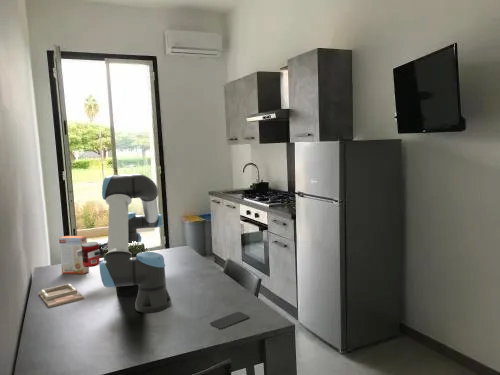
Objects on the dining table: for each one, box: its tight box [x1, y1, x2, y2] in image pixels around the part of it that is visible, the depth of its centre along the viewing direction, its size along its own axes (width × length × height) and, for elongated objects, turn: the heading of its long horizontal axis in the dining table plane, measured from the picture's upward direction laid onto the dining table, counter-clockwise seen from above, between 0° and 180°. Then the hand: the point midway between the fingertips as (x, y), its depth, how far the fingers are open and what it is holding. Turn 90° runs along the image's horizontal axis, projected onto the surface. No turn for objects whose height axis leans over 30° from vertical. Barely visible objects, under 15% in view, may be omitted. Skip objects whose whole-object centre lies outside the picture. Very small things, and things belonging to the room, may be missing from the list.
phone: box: [209, 311, 250, 330], centre depth 155 cm, size 7×1×15 cm
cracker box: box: [58, 235, 90, 275], centre depth 225 cm, size 14×6×21 cm, turn 77°
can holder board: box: [38, 283, 85, 309], centre depth 188 cm, size 22×15×2 cm
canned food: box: [82, 241, 100, 268], centre depth 199 cm, size 8×8×11 cm
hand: (82, 254), depth 194 cm, fingers closed on canned food, 8 cm apart
